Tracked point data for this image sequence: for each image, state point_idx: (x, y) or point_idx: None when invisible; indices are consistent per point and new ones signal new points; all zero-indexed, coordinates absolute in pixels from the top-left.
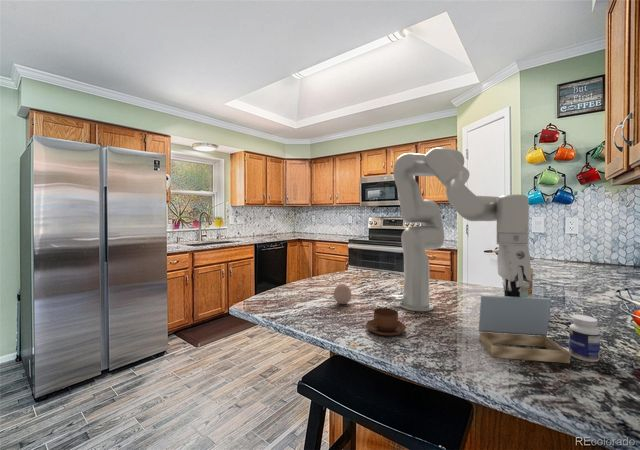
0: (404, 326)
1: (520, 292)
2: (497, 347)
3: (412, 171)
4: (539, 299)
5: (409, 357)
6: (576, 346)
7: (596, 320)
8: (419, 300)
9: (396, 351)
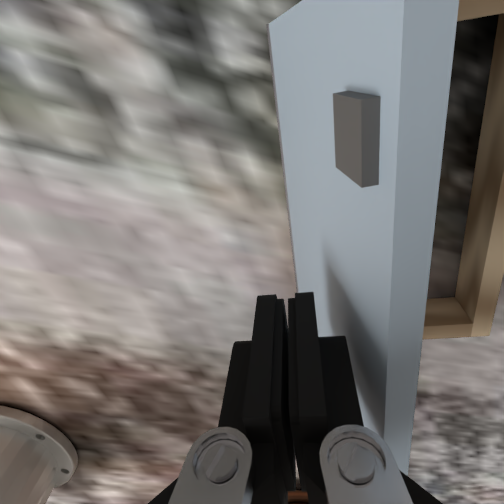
0: (288, 497)
1: None
2: (491, 320)
3: None
4: (438, 165)
5: (481, 482)
6: None
7: None
8: (31, 481)
9: (444, 499)
